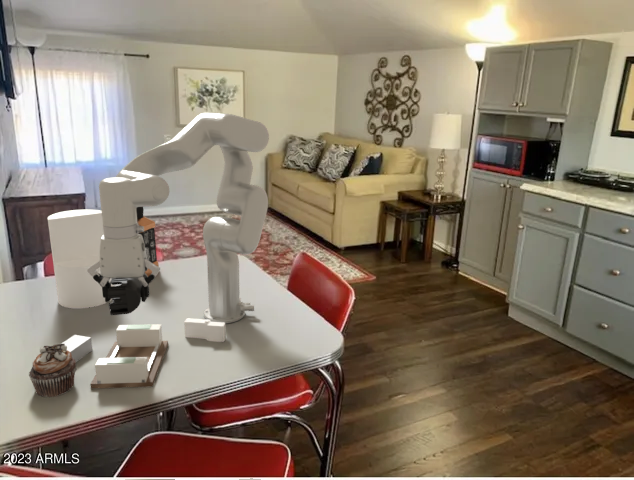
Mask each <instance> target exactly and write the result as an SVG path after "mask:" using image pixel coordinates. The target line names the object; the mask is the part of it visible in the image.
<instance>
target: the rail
mask: <svg viewBox="0 0 634 480" xmlns="http://www.w3.org/2000/svg"><path fill="white" fill-rule="evenodd" d="M159 347H160V344H156V346H155V349H154V351H153V353H152V356H151V358H150V361H149V363H148V373H149V372H150V370H151V367H152V365H153V362H154V360H155V357H156V355H157V352H158V350H159ZM120 348H121V344H118V345H117V347H116V348H115V350H114V352H113V354H112V356H111V357H110V358H115V357H116V356H117V354H118V352H119V350H120ZM97 382H98V383H100V384H101V381H97ZM143 382H144V381H143V380H142V383H143ZM98 383H97V384H98Z"/></svg>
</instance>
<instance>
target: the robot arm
mask: <svg viewBox="0 0 634 480" xmlns="http://www.w3.org/2000/svg"><path fill="white" fill-rule="evenodd" d="M269 140H270V135H269V130H268V128H267V127H266V125H264V123H262V122H260V121H257V120H254V119H250V118H246V117H243V116H239V115H236V114H232V113H222V112H212V111H211V112H202V113H199V114H198V115H196V116H195V117H194V118H192V120H191V121H190V122H189V123H188V124H187V125H185V126H184V127H183V128H182V129H181V130H180V131H179V132H178V133H176V134H175V136H174V137H173V136H172V138H171V139H170V140H169V141H167V142H165V143H162V144H160V145H157V146H156V147H154V148H152V149H149V150H147V151H145V152H143V153H141V154H139V155H137V156H135V158H133V159H132V160H131V161H129V162H128V163H127V164H126V165H125V166H124V167H123V168H122V169H121V170H119V172H118V173H117V174H116V175H115V177H106V178H103V179H102V180H100V181H99V183H98V185H99V186H98V189H99V190H98V191H99V200H100V211H101V212H102V223H103V233H104V235H103V236H102V237H101V243H100V261H98V262H97V263H95V264H94V265H93V266H91V267H90V268H89V269H88V270H87V271H88V273H89V274H90V275H91V276H92V277H93V279H94V280H95V281H96V282H98V283H99V284H100V286H101V287H102V292H103V298H105V302H107V303H110V302H111V301H110V299H108V288H109V287H111V284H110V282H109V279H110V278H137V279H138V280H139V281H140V282H141V284H142V286H141V302H142V303H145V302H146V301H147V298H149V297H150V285H149V284H150V283H152V281H153V280H155V278H156V276H157V275H158V274H159V272H160V270H161V267H160V266H159V267H158V266H156V265H155V264H153V263H151V262H150V261H148V260H147V255H146V249H145V244H144V240H143V237H142V235H141V234H138V233H139V232H144V226H139V225H138V222H137V212H136V208H137V207H143V208H144V207H157V206H160V205H162V204H163V203H164V202H166V201H167V200H168V198H169V196H170V186H169V184H168V181H166V180H165V179H164V178H163V177H161V176H162V175H164V174H168V173H172V172H179V171H183V170H186V169H190V168H192V167H194V166H195V165H196V164H197V163H198V162H199V161H200V160H201V159H202V158H203V157H204V156H205V155H206V154H207V153H208V152H209V151H210V150H211V149H212V148H213V147H214V146H219V148H220V151H221V152H222V156H223V159H224V164H223V165H224V167H223V170H222V175H221V179H220V183H219V187H218V191H217V195H216V205H217V208H218V209H219V210H220V211H222V212H224V213H227V214H231V215H232V214H233V215H236V216H240V220H239V219H235V218H232V217H227V216H213V217H210V218H209V219H207V220H206V222H205V223H204V224H203V225H204V226H203V228H202V237H203V243H204V246H205V251H206V261H207V263H206V265H207V289H208V290H207V291H208V293H207V294H208V307H207V308H206V309H205V310H204V311H203V317H204V319H208V320H211V322H224V323H225V324H233V323H235V322H238V321H241V320H242V319H243V318H244V317H245V316H246V315H245V314H246V312H255V304H251V302H243V301H242V298H241V297H240V259H239V256H238V254H240V255H250V254H252V253H254V251H255V250H256V249H257V247H258V245H259V244H260V243H259V242H260V239H261V236H262V232H263V229H264V224H265V222H266V221H265V220H266V216H267V213H268V207H269V198H268V194H267V192H266V190H265V189H264V188H263V187H261V186H258V185H255V184H251V181H252V175H253V169H254V168H253V167H254V166H253V163H252V159H251V157H250V154H249V152H251V153H259V152H262V151H264V150H265V149H266V148H267V146H268V144H269V142H270V141H269ZM98 268H100V272H101V275H100V274H99V273H98V272H97V271H96V270H97V269H98ZM147 269H150V270H152V273H151V274H150V275H149V276H147V275H146V273H145V271H147Z"/></svg>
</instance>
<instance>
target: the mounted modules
mask: <svg viewBox="0 0 634 480" xmlns="http://www.w3.org/2000/svg"><path fill="white" fill-rule="evenodd" d="M162 330H163V329H162V323H160V324H157V323H156V324H154V323H153V324H148V323H146V324H144V323H143V324H119V325H118V326H117V328H116V330H115V335H116V342H117V345H118V344H121V347H150V346H156V344H160V345H161V343H162V341H163V331H162ZM94 368H95V369H94V370H95V375H96V379H97V381H101V384H109V383H142V380H143V381H144V382H146V381H147V378H148V376H149V373H148V360H147V357H121V358H106V357H99V358H98V359H97V361H96V363H95V364H94ZM97 383H98V382H97ZM98 384H100V383H98Z"/></svg>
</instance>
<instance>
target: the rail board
mask: <svg viewBox="0 0 634 480" xmlns="http://www.w3.org/2000/svg"><path fill="white" fill-rule="evenodd" d="M168 346H169V340H162V343H161V345H160V347H159V350H158V352H157V355H156V357H155V360H154V362H153V365H152V367H151V370H150V372H149V376H148V378H147V381H146V382H143V383H109V384H97V379H96V374H95V376H94V377H93V379H92V380H91V382H90V385H89V387H90V389H117V388H118V389H119V388H122V389H123V388H146V387H147V388H148V387H149V388H151V387H154V384H155V383H156V379H157V376H158V373H159V371H160V368H161V366H162V363H163V360H164V357H165V355H166V352H167V348H168ZM116 347H117V341H114V343H113V344H112V346H111V348H110V349H109V351H108V353H107V354H106V355H105V358H110V357H111V356H112V354H113V352H114V350H115V348H116ZM154 349H155V346H150V347H121V348H120V350H119V352H118V354H117V356H116V357H115V358H121V357H147V360H148V363H149V361H150V358H151V356H152V353H153V351H154Z"/></svg>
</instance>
